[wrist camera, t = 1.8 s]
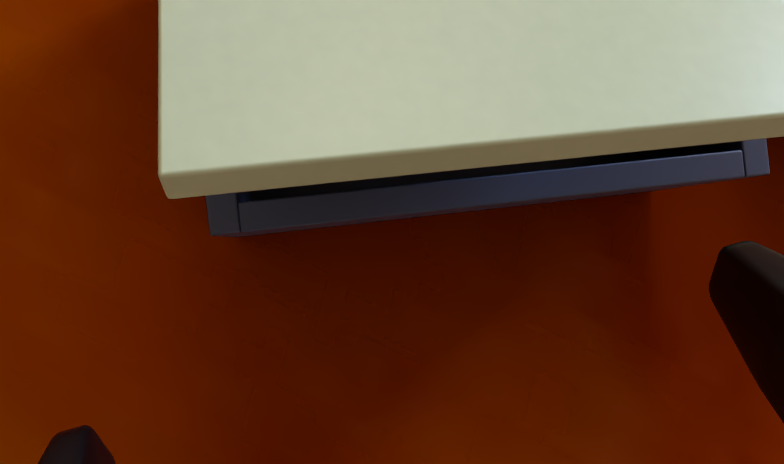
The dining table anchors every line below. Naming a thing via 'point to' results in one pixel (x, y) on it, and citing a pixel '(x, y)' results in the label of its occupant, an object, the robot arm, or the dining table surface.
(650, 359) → the dining table surface
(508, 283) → the dining table surface
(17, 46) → the dining table surface
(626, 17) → the lunchbox lid
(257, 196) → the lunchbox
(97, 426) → the dining table surface
